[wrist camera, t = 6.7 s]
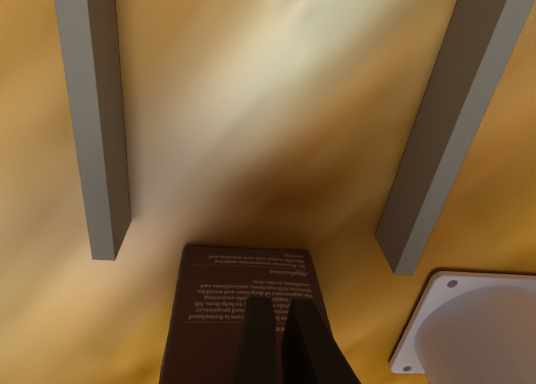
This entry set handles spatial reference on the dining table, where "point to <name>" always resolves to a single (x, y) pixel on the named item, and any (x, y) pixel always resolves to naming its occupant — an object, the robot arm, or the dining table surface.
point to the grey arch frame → (411, 167)
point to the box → (229, 307)
